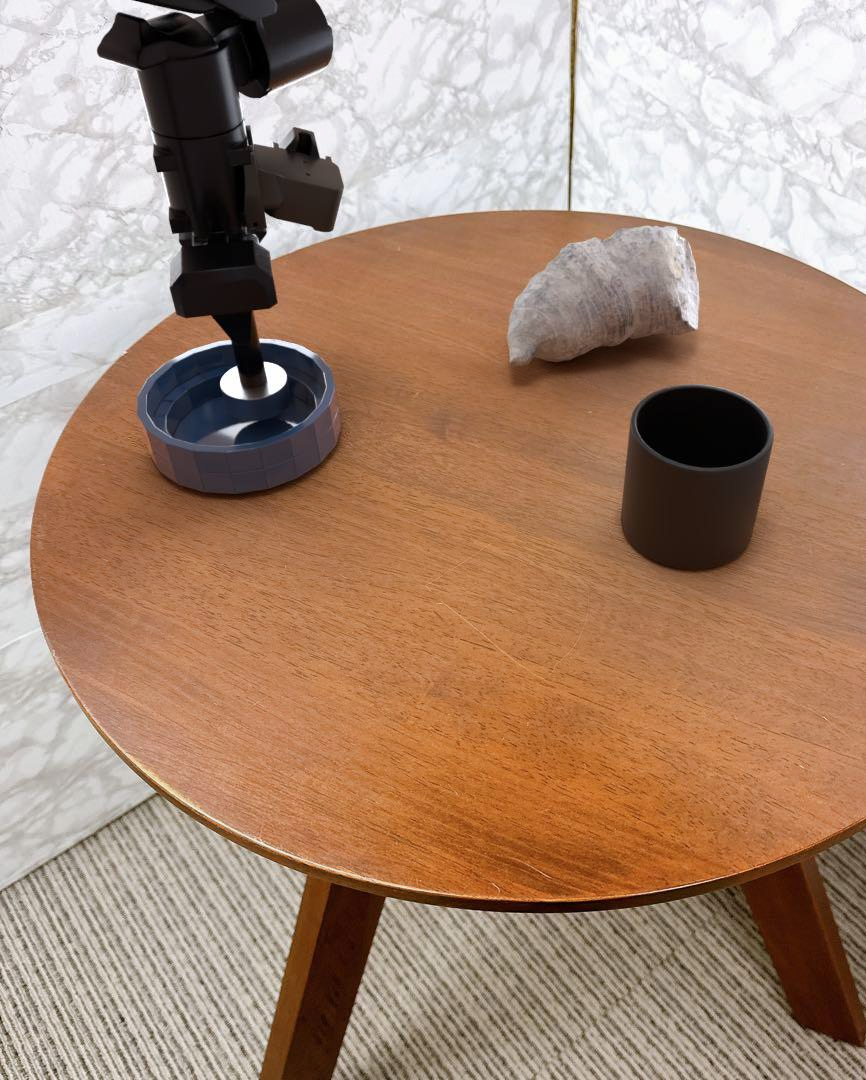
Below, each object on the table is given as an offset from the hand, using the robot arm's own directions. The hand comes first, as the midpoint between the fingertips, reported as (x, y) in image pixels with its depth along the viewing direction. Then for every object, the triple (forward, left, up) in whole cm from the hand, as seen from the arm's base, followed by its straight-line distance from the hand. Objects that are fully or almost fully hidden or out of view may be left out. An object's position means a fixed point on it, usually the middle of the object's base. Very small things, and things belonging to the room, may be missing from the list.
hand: (242, 334), depth 75 cm
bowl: (-1, -1, -8) cm, 9 cm away
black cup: (+30, -18, -9) cm, 36 cm away
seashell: (+30, +5, -9) cm, 31 cm away
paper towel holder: (0, 0, -6) cm, 6 cm away
